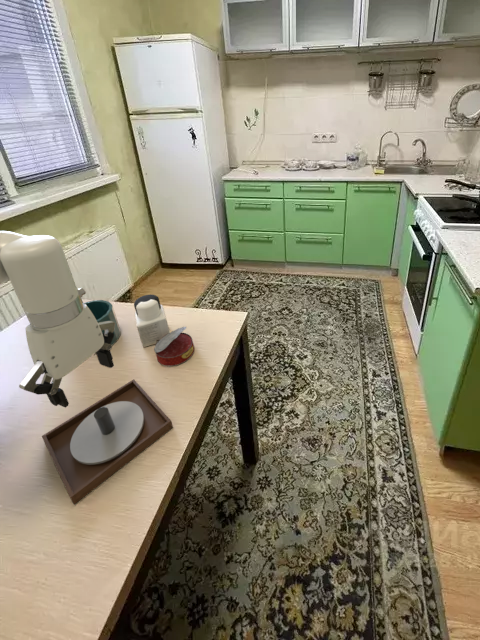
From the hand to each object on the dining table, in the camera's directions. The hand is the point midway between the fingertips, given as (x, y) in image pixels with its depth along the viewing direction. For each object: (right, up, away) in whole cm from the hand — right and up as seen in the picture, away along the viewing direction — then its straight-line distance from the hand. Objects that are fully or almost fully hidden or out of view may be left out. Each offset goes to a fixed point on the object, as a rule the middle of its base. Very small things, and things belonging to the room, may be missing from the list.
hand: (85, 383), depth 61 cm
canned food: (+7, -3, +28) cm, 29 cm away
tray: (+1, -13, +7) cm, 15 cm away
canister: (-18, 0, +34) cm, 38 cm away
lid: (+1, -12, +6) cm, 14 cm away
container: (-1, 0, +35) cm, 35 cm away
